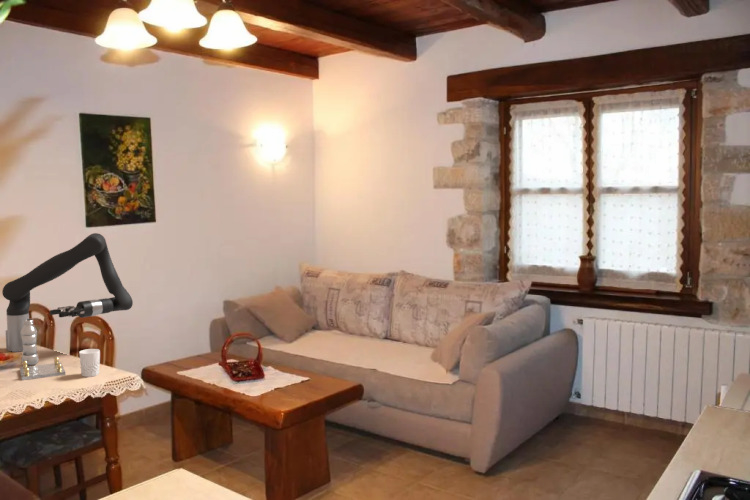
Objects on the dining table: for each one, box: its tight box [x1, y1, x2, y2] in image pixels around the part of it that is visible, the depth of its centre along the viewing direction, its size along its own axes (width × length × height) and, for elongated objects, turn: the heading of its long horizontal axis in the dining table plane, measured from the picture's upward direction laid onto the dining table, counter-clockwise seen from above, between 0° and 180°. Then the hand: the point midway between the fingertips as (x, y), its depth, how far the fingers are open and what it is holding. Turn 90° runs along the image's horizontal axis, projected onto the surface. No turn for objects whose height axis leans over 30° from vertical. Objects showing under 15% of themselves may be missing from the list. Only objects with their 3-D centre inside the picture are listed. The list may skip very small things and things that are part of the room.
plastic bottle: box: [21, 318, 39, 366], centre depth 284 cm, size 6×7×20 cm
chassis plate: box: [19, 356, 66, 381], centre depth 275 cm, size 16×16×4 cm
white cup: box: [78, 348, 101, 378], centre depth 272 cm, size 8×8×10 cm
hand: (54, 313), depth 292 cm, fingers open, 8 cm apart
